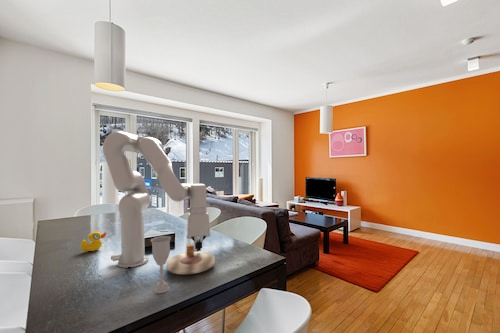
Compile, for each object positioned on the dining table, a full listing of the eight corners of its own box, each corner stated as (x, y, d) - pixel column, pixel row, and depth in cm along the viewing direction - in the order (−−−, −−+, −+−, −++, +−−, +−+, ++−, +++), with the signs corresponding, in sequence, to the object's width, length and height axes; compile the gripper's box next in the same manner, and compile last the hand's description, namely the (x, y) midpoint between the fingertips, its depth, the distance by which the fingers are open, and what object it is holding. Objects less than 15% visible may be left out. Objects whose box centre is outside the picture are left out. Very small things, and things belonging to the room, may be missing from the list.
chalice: (156, 284, 89) (155, 235, 89) (174, 284, 89) (174, 235, 89) (147, 294, 82) (146, 242, 81) (167, 294, 81) (166, 242, 81)
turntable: (165, 277, 90) (165, 262, 90) (167, 258, 109) (167, 246, 109) (218, 270, 96) (218, 256, 96) (211, 252, 115) (211, 241, 115)
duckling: (106, 247, 132) (105, 229, 132) (107, 249, 127) (106, 231, 127) (80, 251, 125) (80, 232, 125) (81, 254, 121) (80, 235, 121)
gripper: (181, 213, 105) (182, 254, 105) (215, 210, 110) (216, 250, 110) (181, 210, 112) (181, 249, 112) (213, 208, 117) (213, 245, 117)
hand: (198, 250), depth 111 cm, fingers closed
